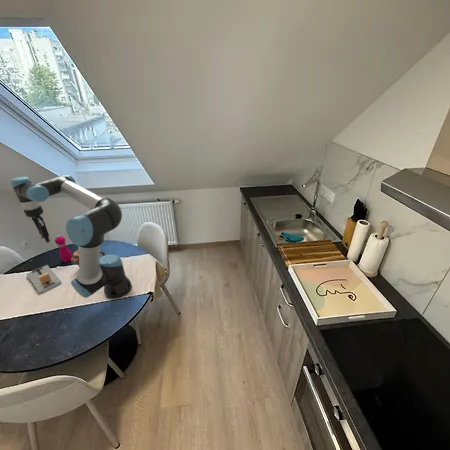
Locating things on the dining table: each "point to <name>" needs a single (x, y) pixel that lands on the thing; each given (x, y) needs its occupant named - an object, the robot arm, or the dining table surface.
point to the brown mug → (76, 257)
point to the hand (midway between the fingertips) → (49, 246)
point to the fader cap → (44, 278)
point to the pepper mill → (63, 249)
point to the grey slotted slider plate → (36, 282)
